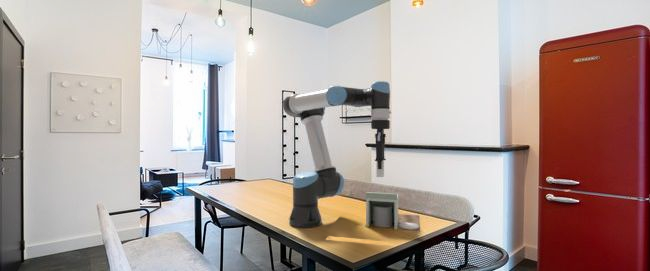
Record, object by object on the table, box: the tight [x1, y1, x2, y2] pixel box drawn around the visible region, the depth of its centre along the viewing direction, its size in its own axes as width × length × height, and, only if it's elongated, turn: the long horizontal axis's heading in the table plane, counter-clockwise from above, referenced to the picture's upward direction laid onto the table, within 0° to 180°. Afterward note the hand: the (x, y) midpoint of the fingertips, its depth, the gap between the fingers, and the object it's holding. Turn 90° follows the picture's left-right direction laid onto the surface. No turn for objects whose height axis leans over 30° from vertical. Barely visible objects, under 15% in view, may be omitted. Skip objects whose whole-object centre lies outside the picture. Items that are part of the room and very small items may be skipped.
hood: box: [365, 191, 399, 230], centre depth 143 cm, size 13×12×15 cm
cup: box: [372, 203, 393, 228], centre depth 143 cm, size 8×8×10 cm
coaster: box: [399, 223, 419, 229], centre depth 140 cm, size 9×9×1 cm
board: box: [364, 213, 421, 232], centre depth 149 cm, size 23×26×2 cm
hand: (380, 176), depth 132 cm, fingers open, 2 cm apart
